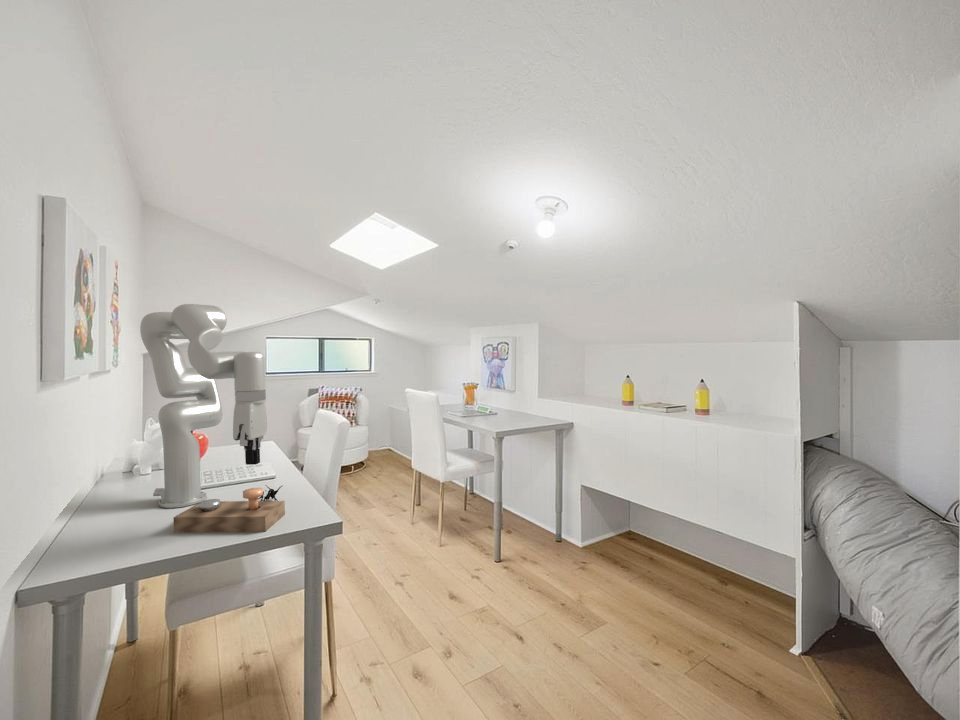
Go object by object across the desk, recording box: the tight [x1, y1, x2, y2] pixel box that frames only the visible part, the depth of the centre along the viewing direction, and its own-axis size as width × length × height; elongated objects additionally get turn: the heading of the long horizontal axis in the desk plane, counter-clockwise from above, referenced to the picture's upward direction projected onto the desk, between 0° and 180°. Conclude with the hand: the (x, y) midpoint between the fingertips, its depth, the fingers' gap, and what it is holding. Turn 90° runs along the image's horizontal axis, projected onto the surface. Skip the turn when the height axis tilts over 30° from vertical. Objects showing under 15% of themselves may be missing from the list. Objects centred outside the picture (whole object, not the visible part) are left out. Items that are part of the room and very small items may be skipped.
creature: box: [258, 484, 283, 501], centre depth 141 cm, size 8×5×8 cm
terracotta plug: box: [242, 487, 264, 511], centre depth 125 cm, size 5×5×5 cm
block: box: [172, 500, 286, 533], centre depth 125 cm, size 24×12×4 cm, turn 90°
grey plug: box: [199, 498, 221, 511], centre depth 125 cm, size 5×5×5 cm
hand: (252, 463), depth 125 cm, fingers closed
